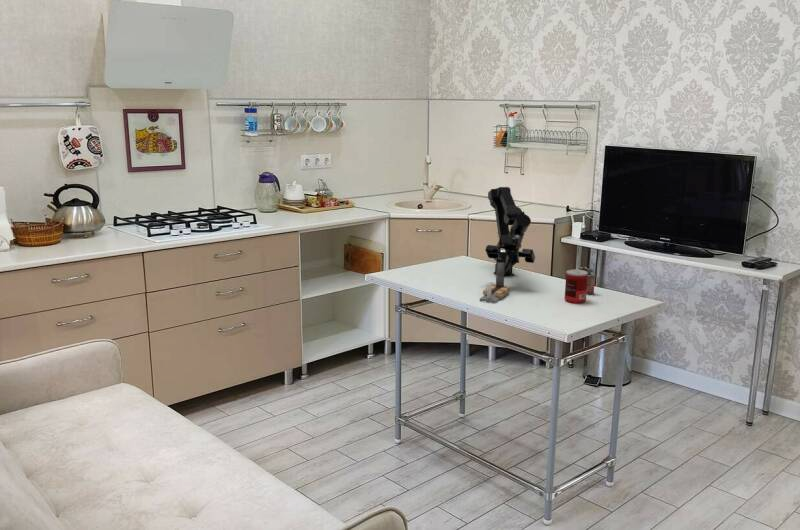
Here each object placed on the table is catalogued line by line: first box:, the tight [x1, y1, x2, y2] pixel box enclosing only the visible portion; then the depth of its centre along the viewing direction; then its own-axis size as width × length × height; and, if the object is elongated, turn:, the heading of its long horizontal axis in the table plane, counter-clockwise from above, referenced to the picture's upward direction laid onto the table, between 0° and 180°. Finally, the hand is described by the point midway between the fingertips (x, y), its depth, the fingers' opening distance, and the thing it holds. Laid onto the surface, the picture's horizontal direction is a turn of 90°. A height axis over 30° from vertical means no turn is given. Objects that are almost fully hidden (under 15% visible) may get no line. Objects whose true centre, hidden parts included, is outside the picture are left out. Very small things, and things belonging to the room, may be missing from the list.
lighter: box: [578, 266, 597, 296], centre depth 270 cm, size 8×3×10 cm, turn 47°
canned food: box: [564, 269, 589, 305], centre depth 259 cm, size 8×8×11 cm
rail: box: [479, 281, 510, 304], centre depth 263 cm, size 16×6×7 cm, turn 153°
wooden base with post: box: [482, 262, 511, 297], centre depth 264 cm, size 10×7×11 cm
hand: (504, 271), depth 271 cm, fingers closed
